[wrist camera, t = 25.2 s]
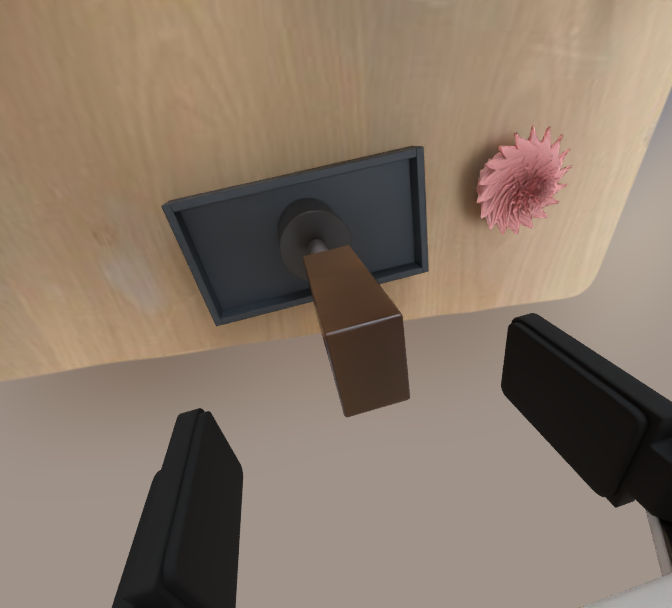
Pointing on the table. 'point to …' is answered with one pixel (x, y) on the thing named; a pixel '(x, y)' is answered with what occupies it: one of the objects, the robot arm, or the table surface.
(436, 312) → the table surface
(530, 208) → the flower
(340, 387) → the brush
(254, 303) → the tray
